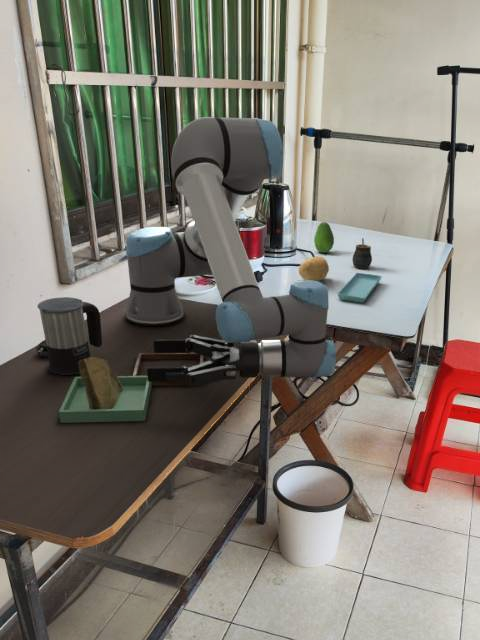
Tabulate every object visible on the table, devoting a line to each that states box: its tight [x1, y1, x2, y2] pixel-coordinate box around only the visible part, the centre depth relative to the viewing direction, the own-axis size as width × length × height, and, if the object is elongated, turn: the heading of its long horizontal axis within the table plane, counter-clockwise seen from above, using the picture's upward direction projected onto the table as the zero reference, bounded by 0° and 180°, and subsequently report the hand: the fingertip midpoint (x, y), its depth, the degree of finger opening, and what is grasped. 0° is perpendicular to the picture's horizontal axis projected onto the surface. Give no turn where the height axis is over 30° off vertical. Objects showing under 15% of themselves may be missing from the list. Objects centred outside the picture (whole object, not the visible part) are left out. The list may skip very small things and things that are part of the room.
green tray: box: [58, 375, 153, 424], centre depth 118 cm, size 15×15×2 cm
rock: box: [78, 356, 123, 410], centre depth 117 cm, size 11×9×10 cm
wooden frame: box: [132, 352, 205, 387], centre depth 133 cm, size 15×15×1 cm
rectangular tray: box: [337, 272, 383, 304], centre depth 195 cm, size 26×9×2 cm, turn 163°
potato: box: [298, 255, 330, 282], centre depth 201 cm, size 10×14×8 cm
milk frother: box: [36, 296, 103, 376], centre depth 131 cm, size 14×16×15 cm
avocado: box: [314, 221, 335, 254], centre depth 235 cm, size 8×8×12 cm
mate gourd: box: [351, 237, 373, 270], centre depth 220 cm, size 7×8×10 cm
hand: (150, 359), depth 116 cm, fingers open, 13 cm apart
